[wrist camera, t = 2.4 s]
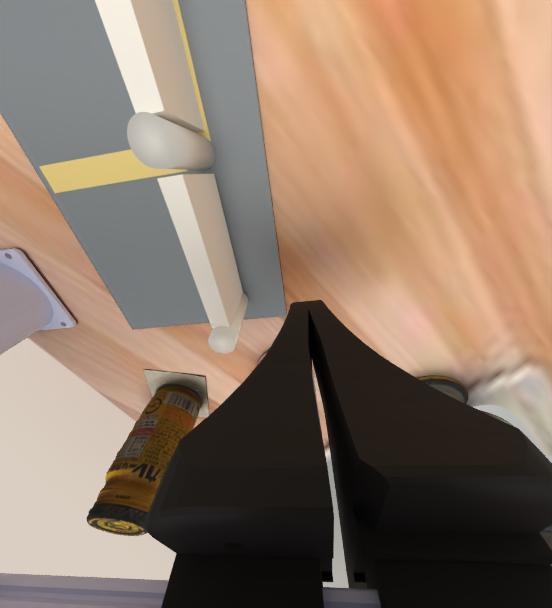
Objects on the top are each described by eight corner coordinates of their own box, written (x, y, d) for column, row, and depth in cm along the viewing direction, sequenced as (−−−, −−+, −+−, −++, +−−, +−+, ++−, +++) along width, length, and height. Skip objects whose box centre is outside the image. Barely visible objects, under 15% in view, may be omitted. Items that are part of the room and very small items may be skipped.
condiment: (156, 410, 30) (89, 536, 19) (143, 368, 25) (47, 502, 15) (209, 415, 30) (170, 542, 20) (206, 375, 25) (152, 511, 15)
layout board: (134, 327, 22) (131, 330, 21) (-136, -126, 9) (-156, -140, 9) (286, 313, 20) (286, 316, 20) (210, -257, 8) (206, -283, 7)
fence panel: (191, 177, 14) (143, 180, 9) (218, 172, 14) (183, 173, 9) (230, 309, 19) (212, 354, 14) (250, 307, 19) (238, 352, 14)
